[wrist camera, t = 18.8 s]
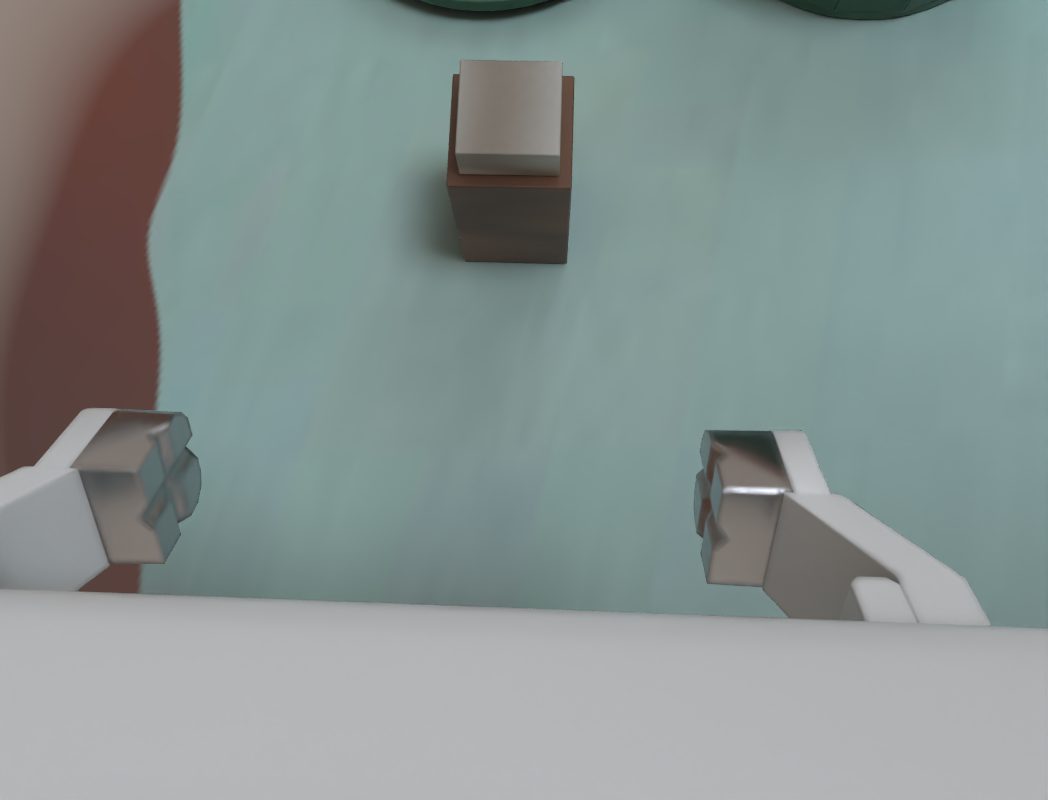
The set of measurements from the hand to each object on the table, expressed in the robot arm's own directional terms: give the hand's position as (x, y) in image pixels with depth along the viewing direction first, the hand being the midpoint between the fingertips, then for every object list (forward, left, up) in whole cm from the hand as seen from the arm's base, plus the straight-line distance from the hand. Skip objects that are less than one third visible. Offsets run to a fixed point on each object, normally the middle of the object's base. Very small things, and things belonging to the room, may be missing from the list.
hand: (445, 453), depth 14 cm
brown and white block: (0, -12, -19) cm, 22 cm away
